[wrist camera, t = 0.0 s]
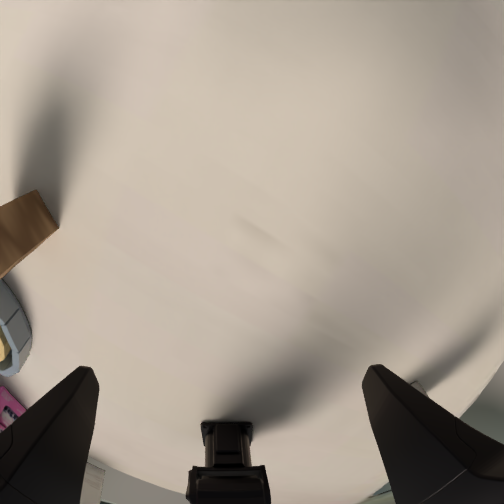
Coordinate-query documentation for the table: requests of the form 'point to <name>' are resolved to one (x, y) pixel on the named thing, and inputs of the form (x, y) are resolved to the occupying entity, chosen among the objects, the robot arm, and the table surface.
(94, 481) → the supplement box
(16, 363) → the grey round dish
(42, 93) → the table surface
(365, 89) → the table surface
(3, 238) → the brown wooden block
